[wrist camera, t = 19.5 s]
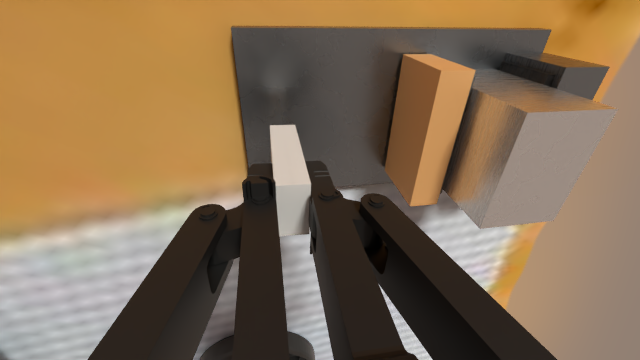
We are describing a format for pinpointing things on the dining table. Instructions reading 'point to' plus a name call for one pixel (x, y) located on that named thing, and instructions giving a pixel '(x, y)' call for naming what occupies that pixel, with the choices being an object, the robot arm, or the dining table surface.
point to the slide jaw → (426, 125)
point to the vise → (369, 84)
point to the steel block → (521, 149)
